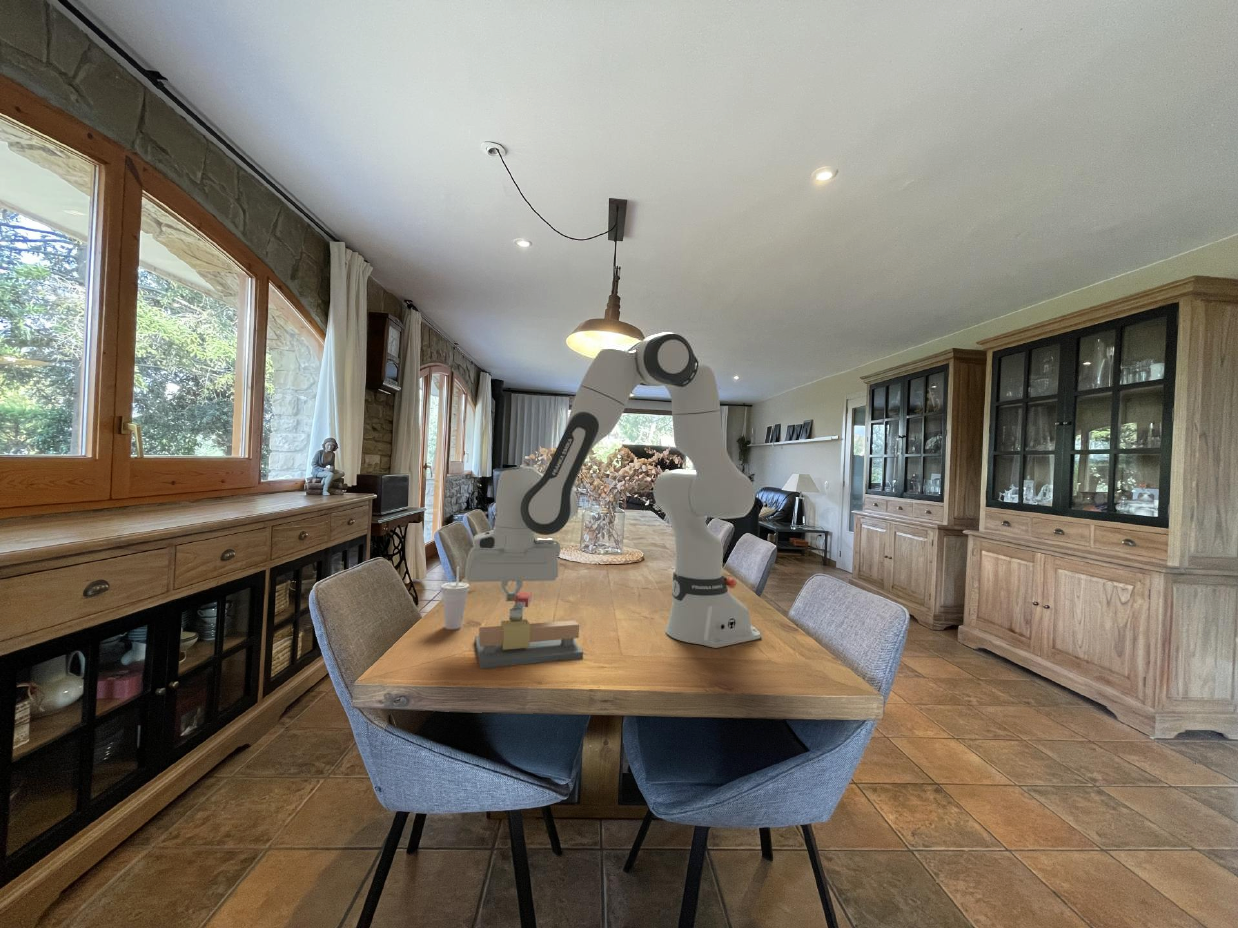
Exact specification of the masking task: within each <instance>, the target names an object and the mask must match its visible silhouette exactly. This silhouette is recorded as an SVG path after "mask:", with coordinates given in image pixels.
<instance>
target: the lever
mask: <svg viewBox="0 0 1238 928" xmlns="http://www.w3.org/2000/svg"><path fill="white" fill-rule="evenodd" d="M531 601H532V592H522V591H521V592H520V591H519V592H518V594H517V596H516V598H515V601H514V604H513V606H512V608H511V609H509V616H508V617H509V618H508V619H509V620H512V621H519V620H523V615H524V614H523V613H524V610H525V608H528V607H529V605H530V604H531Z"/></svg>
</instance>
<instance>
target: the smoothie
mask: <svg viewBox="0 0 1238 928" xmlns="http://www.w3.org/2000/svg"><path fill="white" fill-rule="evenodd" d="M469 590H470V584H469V583H467V582H463V581H460V566H456V579H455V581H451V582H446V583H443V584H441V585H440V592H441V596H442V597H441V598H442V608H443V619H444V628H445V629H446V630H458V629H460V628H462V626H463V620H464V616H465V614H464V613H465V609H466V602H467V598H468V591H469Z"/></svg>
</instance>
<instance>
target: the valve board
mask: <svg viewBox="0 0 1238 928" xmlns="http://www.w3.org/2000/svg"><path fill="white" fill-rule="evenodd" d="M579 635H580V624H579V622H577V620H563V621H550V622H537V623H536V622H535V623H530V622H529V621H528V619H527V618H525V619H523V618H522V620H519V621H512V620H510V619H509V620H501V622H500V625H497V626H481V627H478V635H477V636H475V635H474V643H475V644H474V645H475V649H476V653H477V657H478V661H479V667H480V669H488V668H499V667H508V666H509V667H510V666H518V665H527V664H528V665H529V664H537V663H538V664H539V663H546V662H557V661H565V660H566V661H567V660H573V659H575V660H576V659H584V651H583V650H582V649H581V648H580V646H579V644H578V643H577V642H576V640H575V639H579V637H580V636H579Z"/></svg>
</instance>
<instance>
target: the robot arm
mask: <svg viewBox="0 0 1238 928" xmlns="http://www.w3.org/2000/svg"><path fill="white" fill-rule="evenodd" d="M638 385H639V386H646V387H647V386H648V387H650V386H652V387H661V386H664V387H665V388H666V390H667V392H668V394H669V397H670V399H671V415H672V429H673V441H674V445H675V447H676V449H677V451H679V452H680V453H681V454H683V455H685V457H686V458H688V459H689V461H690V462H691V463H692V465H693V467H694V469H684V468H677V469H676V468H675V469H672V470H671V469H670V470H668V471H662V472H661V473H660V474H659V475H658V476H657V477H656V479H655V481H654V485H653V488H652V489H653V490H652V491H653V499H654V501H655V503H656V505H657V507H659V508H660V509H661V510H662V511H663V512H664V514H665V516H666V518H667V519H668V521H669V523H670V525H671V528H672V533H673V538H674V545H675V546H674V547H675V548H674V549H675V550H674V551H675V552H674V553H675V554H674V555H675V557H674V558H675V559H674V563H675V564H674V565H675V566H674V571H673V574H672V585H671V587H672V588H671V592H672V594H671V595H672V603H671V607H670V614H669V617H668V620H667V624H666V626H665V633H666V634H667V635H668V636H669V637H671V638H673V639H675V640H678V641H681V642H685V643H690V644H695V645H696V644H697V645H703V646H706V647H709V648H712V649H713V648H715V649H716V648H717V649H718V648H722V647H726V646H730V645H732V646H733V645H737V644H739V643H745V642H749V641H755V640H759V639H761V633H760V631H759V630H758V628H756V627H754V626H753V625H752V623H751V615H750V611H749V610H748V608H747V607H746V606H745V605H744V603H742V602H741V601H740V600H739V599H737V597H736V596H734V595H733V594H732V593H731V592H729V590H728V587H729V588H732V589H734V588H736V586H737V584H738V582H737V579H734V578H732V577H728V578H727V577H726V576H724V575H723V561H724V560H723V558H724V557H723V556H724V546H723V543H722V541H721V539H720V538H719V537H718V536H717V535H716V534H715V533H713V532H712V530H710V528H709V527H708V525H707V523H706V522H707V521H706V520H705V519H706V518H707V517H708V518H715V519H723V520H729V519H738V518H744V517H746V516H747V515H748V514H749V513H750V512H751V510H752V508H753V507H754V504H755V501H756V490H755V487H754V485H753V482H752V480H751V479H750V478H749V477H748V476H747V475H746V474H744V473H743V472H742V471H741V470H739V468H738V467H737V466H736V465H735V463H734V462H733V461H732V459H731V457H730V455H729V453H728V450H727V449H726V445H725V442H724V436H723V427H722V419H721V418H722V417H721V403H720V396H719V395H720V394H719V389H718V384H717V380H716V377H715V373H714V371H713V369H712V368H711V366H708V365H707V364H705V363H701V362H699V360H698V358H697V357H696V356H695V354H694V350H693V348H692V346H691V344H690V343H689V341H688V340H687V339H686V338H685V337H684V336H682V335H680V334H679V333H675V332H669V331H665V332H664V331H663V332H660V333H658V334H657V333H656V334H653V335H650V336H647V337H645V338H644V339H642V340H641V341H639V342H637V343H636V344H634V345H632V346H631V347H630V348H629V349H628V350H625V349H623V348H620V347H618V346H617V347H616V346H607V347H604V348H602V349H601V350H600V351H599V352H598V353H597V355H596V356H595V357H594V359H593V360H592V362H591V364H590V366H589V367H588V369H587V370H586V372H585V373H584V376H583V378H582V380H581V382H580V384H579V387H578V389H577V391H576V394H575V396H574V400H573V402H572V405H571V409H570V412H569V416H568V419H567V422H566V426H565V428H564V431H563V434H562V436H561V439H560V441H559V443H558V445H557V447H556V449H555V451H554V454H553V455H552V457H551V459H550V462H549V463H548V466H547V468H546V469H545V472H544V474H543V473H541V472H540V471H538V469H537V468H536V467H534V466H531V465H524V466H523V465H522V466H521V465H520V466H515V467H508V468H505V469H504V470H503V471H501V472H500V475H499V477H498V479H497V480H498V482H497V488H496V497H495V508H496V509H495V510H496V519H495V521H494V529H492V530H488V531H485V532H482V533H481V532H480V533H478V534H476V535H474V536H473V539H472V545H473V546H472V547H471V549H469V552H468V555H467V560H466V564H465V572H464V578H465V579H466V581H467V582H468V583H478V582H479V583H481V582H483V583H486V582H487V583H489V582H490V583H492V582H495V583H496V582H500V587H501V589H502V590H503V592H504V594H505V596H504V600H505V602H515V598H516V596H517V595H518V593H519V592H520V591H521V589H522V587H523V583H524V582H554V581H556V579H558V577H559V562H558V560H559V559H558V558H559V557H560V554H561V544H560V542H558V541H557V540H555V539H554V538H547V539H546V538H535V537H536V536H535V534H538V535H543V536H549V535H553V534H557V533H558V532H560V531H561V530H562V529H564V528H565V526H566V524H567V523H569V522H570V521H572V519H573V518H574V517H575V516H576V515H577V512H578V510H579V501H580V500H579V497H578V494H577V492H576V491H575V490H574V489H573V488H574V486H575V483H576V481H577V479H578V476H579V475H580V473H581V470H582V468H583V465H584V464H585V463H586V459H587V457H588V456H589V454H590V452H591V451H592V450H593V449H594V447H595V446H596V445H597V444H598V443H600V441H602V440H603V439H604V438H606V437H607V436H608V435H610V434H611V432H613V430H614V429H615V427H616V425H617V424H618V422H619V421H620V420H621V417H622V415H623V413H624V411H625V409H626V407H627V404H628V402H629V399H630V396H631V394H632V393H633V392H634V390H635V388H637V386H638ZM509 582H515V586H516V587H515V588H514V589H513V591H509V590H508V588H507V587H508V586H509Z"/></svg>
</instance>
